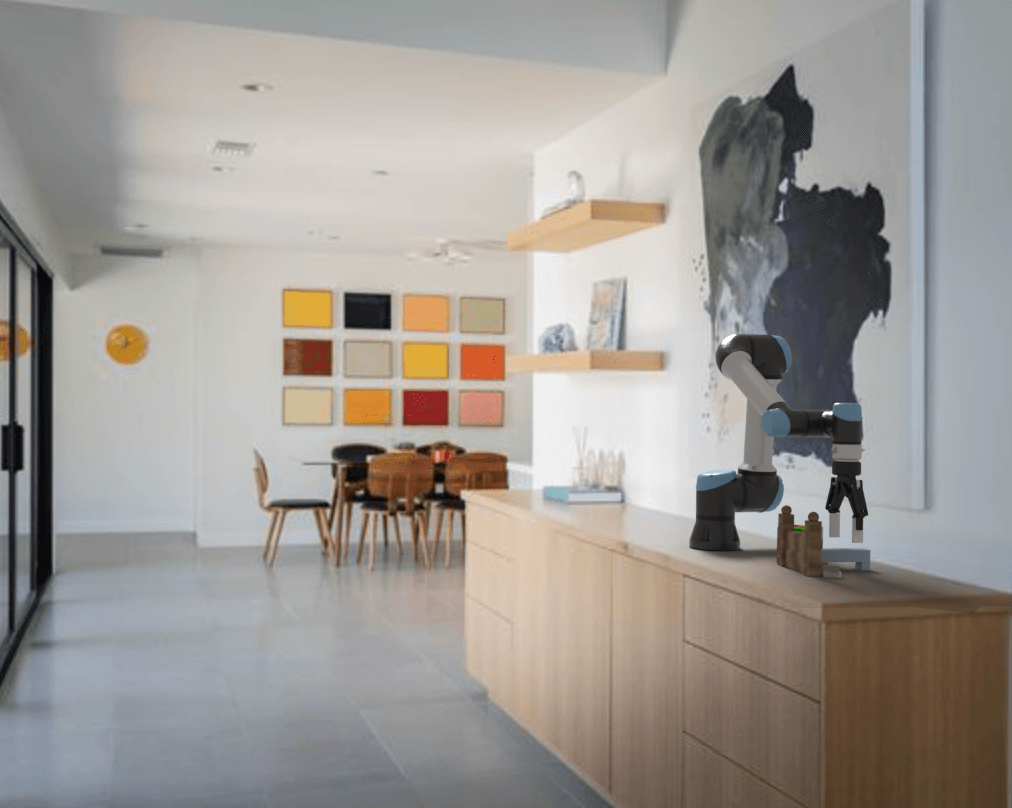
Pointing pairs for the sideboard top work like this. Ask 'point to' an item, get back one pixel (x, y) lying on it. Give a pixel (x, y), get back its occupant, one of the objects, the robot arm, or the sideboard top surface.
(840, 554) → the rail
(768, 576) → the sideboard top surface
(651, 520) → the sideboard top surface
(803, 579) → the sideboard top surface
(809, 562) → the headboard
